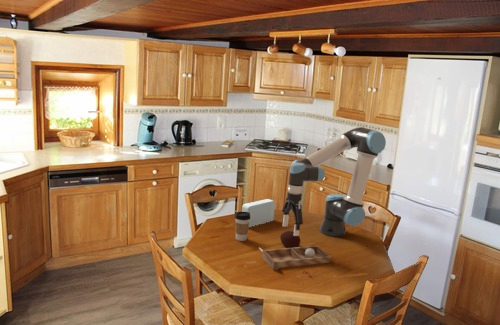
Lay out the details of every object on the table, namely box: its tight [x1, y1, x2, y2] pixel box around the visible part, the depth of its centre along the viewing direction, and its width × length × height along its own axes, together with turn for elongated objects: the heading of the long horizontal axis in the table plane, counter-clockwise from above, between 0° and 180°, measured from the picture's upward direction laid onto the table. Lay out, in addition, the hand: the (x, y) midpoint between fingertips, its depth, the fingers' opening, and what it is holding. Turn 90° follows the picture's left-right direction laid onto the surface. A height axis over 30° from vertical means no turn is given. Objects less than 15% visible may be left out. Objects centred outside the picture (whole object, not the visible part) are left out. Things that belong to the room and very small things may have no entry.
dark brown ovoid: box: [279, 230, 301, 248], centre depth 237 cm, size 9×12×9 cm
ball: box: [305, 248, 315, 258], centre depth 224 cm, size 5×5×5 cm
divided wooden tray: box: [261, 245, 332, 271], centre depth 221 cm, size 31×14×4 cm, turn 110°
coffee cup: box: [234, 211, 250, 242], centre depth 243 cm, size 8×8×15 cm
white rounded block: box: [241, 198, 276, 229], centre depth 270 cm, size 23×6×13 cm, turn 134°
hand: (290, 230), depth 236 cm, fingers open, 13 cm apart
